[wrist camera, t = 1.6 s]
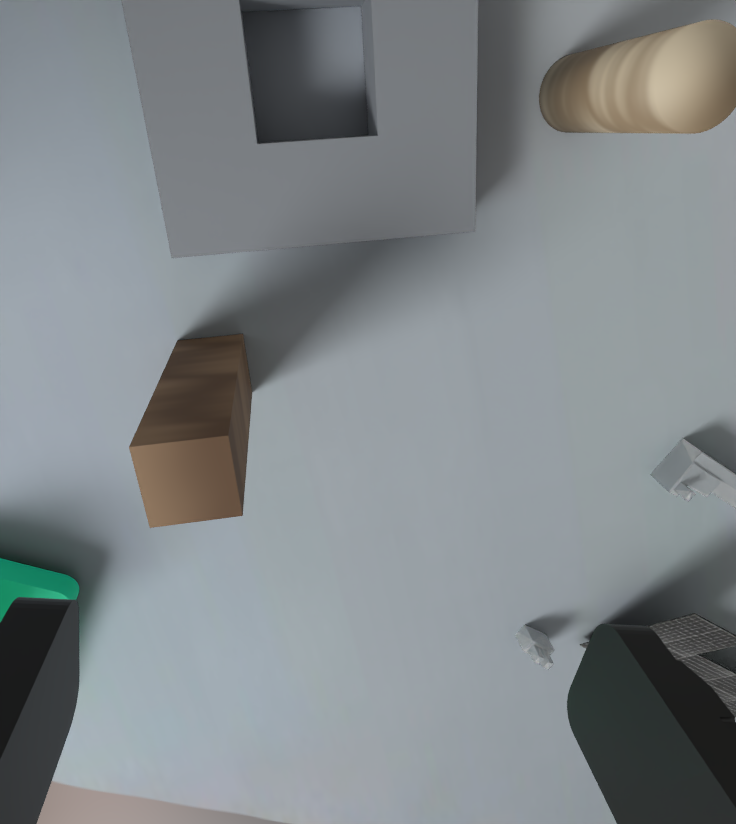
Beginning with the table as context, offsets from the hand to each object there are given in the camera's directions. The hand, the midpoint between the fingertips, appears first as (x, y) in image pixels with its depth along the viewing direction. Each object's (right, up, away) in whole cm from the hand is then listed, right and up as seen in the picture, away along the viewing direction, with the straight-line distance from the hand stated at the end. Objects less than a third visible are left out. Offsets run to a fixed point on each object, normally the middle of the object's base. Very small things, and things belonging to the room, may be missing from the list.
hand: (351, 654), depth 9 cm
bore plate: (-2, +19, +18) cm, 27 cm away
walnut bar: (-8, +6, +23) cm, 26 cm away
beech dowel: (+10, +19, +20) cm, 30 cm away
